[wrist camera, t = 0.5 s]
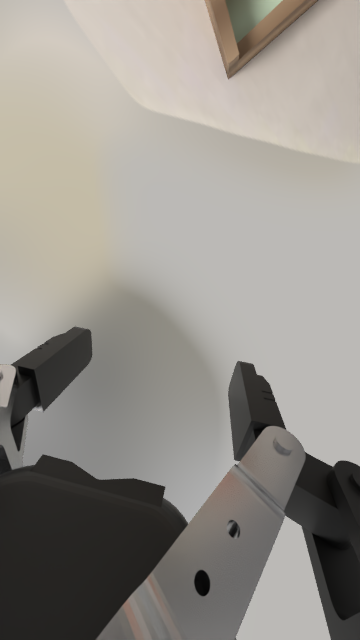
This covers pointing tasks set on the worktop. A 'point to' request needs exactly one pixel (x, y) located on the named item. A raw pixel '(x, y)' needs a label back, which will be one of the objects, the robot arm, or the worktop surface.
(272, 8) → the box
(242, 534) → the robot arm
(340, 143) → the worktop surface
